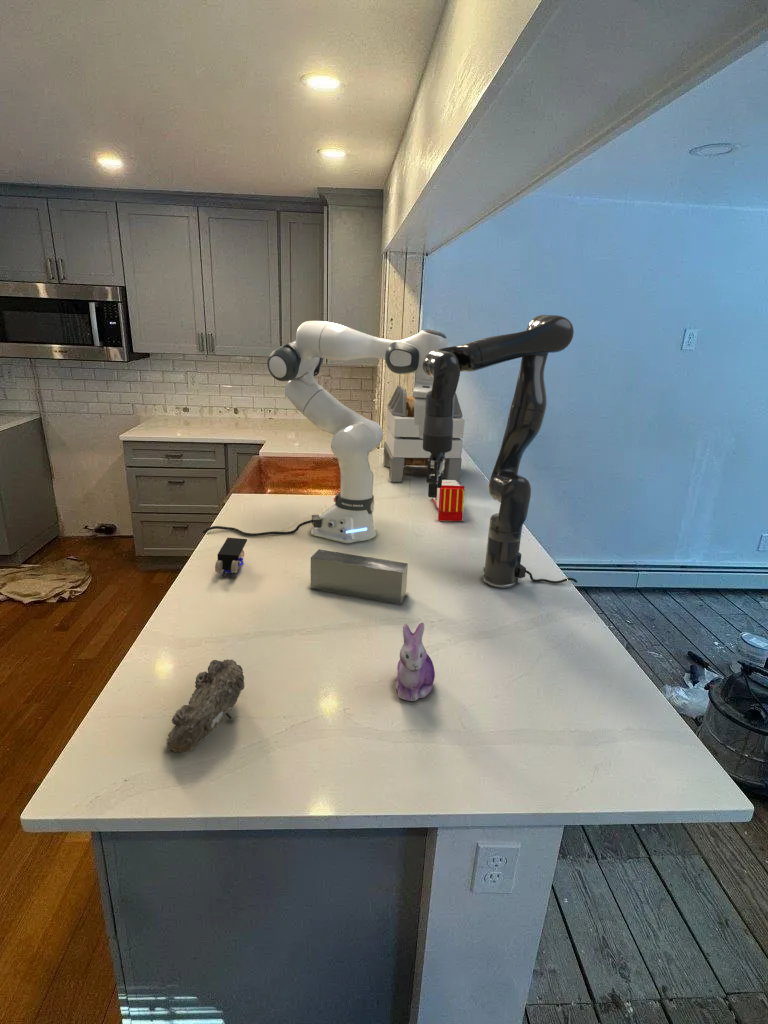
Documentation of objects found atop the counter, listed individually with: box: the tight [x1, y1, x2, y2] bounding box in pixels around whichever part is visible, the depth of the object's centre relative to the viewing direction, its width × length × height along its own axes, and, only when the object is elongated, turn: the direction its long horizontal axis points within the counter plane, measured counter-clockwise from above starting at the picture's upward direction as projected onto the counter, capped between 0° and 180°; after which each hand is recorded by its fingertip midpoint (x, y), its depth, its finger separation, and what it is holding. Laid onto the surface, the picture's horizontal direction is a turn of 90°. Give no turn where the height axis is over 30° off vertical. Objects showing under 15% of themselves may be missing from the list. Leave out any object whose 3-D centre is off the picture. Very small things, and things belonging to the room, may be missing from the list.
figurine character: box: [214, 537, 248, 578], centre depth 166 cm, size 7×8×15 cm
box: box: [310, 548, 409, 605], centre depth 157 cm, size 26×6×10 cm, turn 74°
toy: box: [431, 479, 465, 522], centre depth 225 cm, size 12×13×30 cm
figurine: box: [394, 622, 436, 702], centre depth 116 cm, size 9×10×15 cm
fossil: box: [166, 658, 245, 754], centre depth 106 cm, size 22×10×15 cm
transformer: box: [383, 384, 465, 484], centre depth 268 cm, size 34×33×41 cm
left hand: (425, 435), depth 170 cm, fingers open, 8 cm apart
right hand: (434, 492), depth 150 cm, fingers open, 8 cm apart
